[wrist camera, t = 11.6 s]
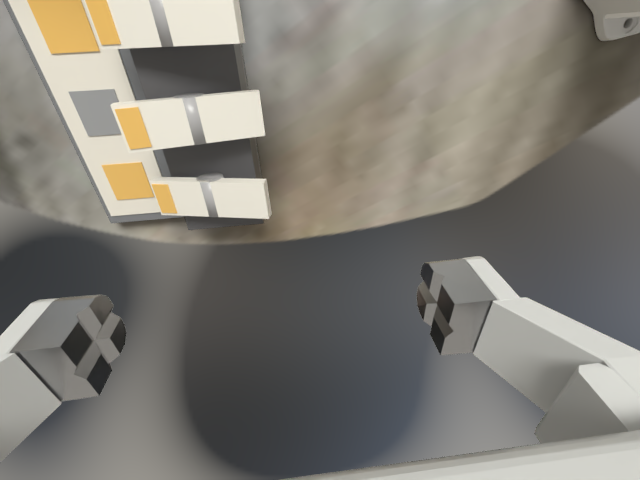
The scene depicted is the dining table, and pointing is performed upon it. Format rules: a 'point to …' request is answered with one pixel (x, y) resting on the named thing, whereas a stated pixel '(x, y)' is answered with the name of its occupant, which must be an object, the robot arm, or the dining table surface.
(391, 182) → the dining table surface
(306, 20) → the dining table surface
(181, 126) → the switch
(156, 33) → the switch
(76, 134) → the switch unit
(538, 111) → the dining table surface
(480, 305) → the robot arm
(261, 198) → the switch
